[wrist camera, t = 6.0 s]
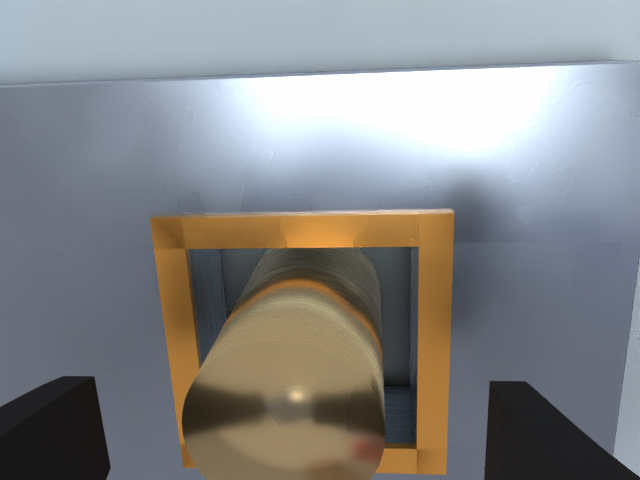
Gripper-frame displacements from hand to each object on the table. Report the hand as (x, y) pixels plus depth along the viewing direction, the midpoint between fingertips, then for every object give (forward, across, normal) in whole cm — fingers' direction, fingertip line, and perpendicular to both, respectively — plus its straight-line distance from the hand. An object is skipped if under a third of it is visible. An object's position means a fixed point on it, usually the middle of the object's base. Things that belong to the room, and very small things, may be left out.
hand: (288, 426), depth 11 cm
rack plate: (+5, +2, 0) cm, 6 cm away
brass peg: (+5, 0, 0) cm, 5 cm away
